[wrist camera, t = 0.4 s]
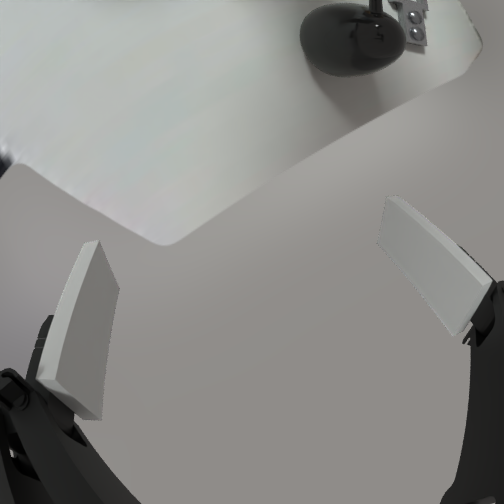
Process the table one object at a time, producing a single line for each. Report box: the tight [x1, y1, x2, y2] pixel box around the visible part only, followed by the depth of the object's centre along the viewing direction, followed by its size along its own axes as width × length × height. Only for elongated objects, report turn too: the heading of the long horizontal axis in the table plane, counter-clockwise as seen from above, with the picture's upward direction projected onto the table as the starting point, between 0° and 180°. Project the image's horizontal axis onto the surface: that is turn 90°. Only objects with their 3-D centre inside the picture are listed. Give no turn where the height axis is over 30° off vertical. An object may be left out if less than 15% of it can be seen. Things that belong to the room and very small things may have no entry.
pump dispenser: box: [300, 0, 407, 77], centre depth 23 cm, size 10×10×15 cm
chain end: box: [388, 0, 429, 46], centre depth 24 cm, size 14×8×2 cm, turn 9°
